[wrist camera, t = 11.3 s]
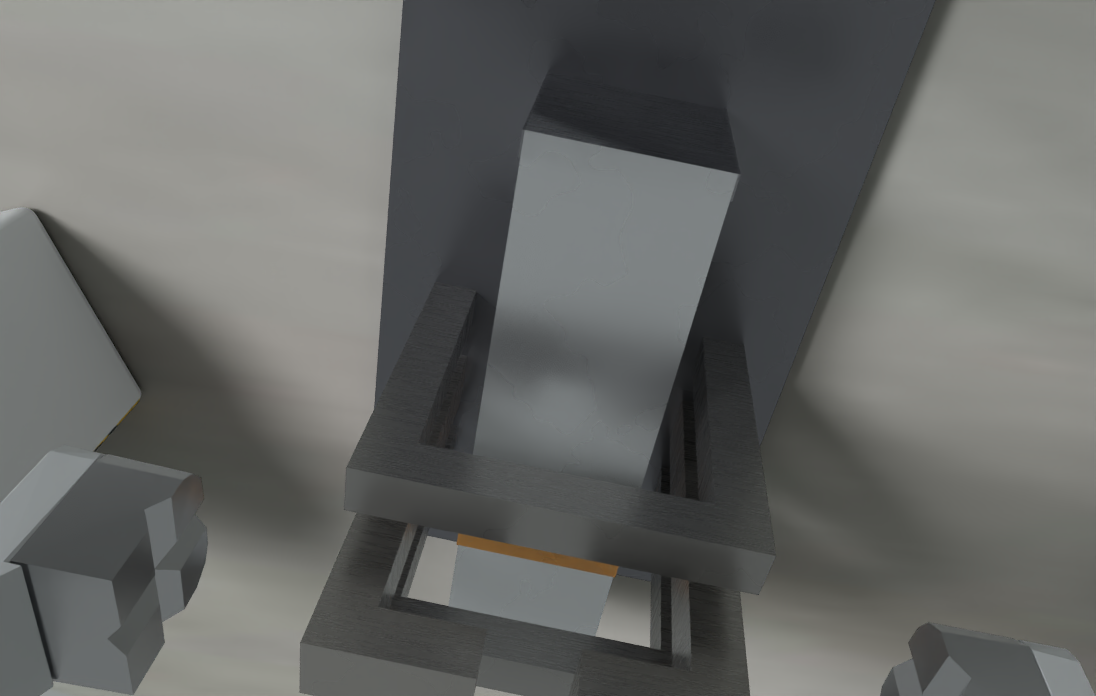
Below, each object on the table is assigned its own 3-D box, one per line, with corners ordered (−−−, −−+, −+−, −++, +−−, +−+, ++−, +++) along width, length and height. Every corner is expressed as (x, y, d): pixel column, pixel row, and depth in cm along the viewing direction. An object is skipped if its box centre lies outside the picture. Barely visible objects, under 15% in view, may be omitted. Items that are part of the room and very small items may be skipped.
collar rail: (449, -541, 16) (122, -1077, 6) (1087, -414, 16) (1747, -756, 6) (371, 511, 30) (237, 834, 21) (701, 579, 30) (719, 934, 21)
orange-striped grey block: (547, 72, 21) (522, 129, 17) (727, 109, 21) (740, 174, 17) (469, 533, 30) (442, 636, 26) (596, 559, 30) (587, 667, 26)
